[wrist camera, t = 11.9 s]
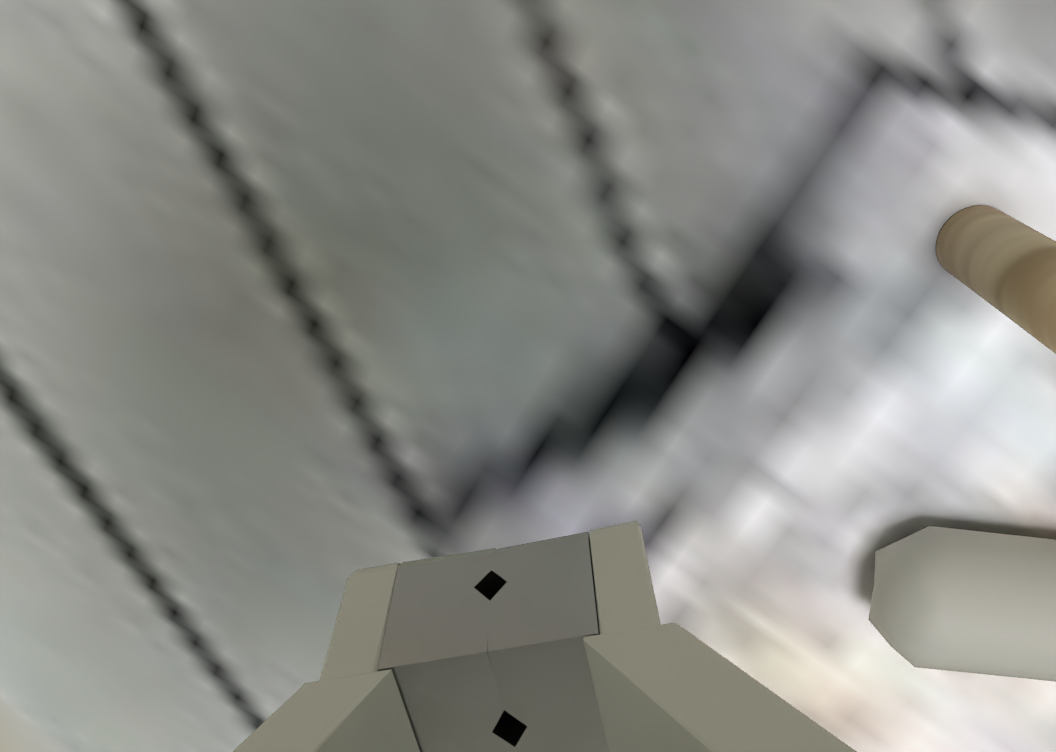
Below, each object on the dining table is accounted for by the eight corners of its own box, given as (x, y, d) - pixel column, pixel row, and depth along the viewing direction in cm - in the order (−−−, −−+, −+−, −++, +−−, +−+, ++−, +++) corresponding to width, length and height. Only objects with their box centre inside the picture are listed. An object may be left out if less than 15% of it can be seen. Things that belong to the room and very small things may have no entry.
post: (1010, 269, 30) (1190, 388, 22) (936, 283, 30) (1088, 406, 22) (1011, 198, 29) (1201, 295, 21) (935, 213, 29) (1093, 316, 21)
